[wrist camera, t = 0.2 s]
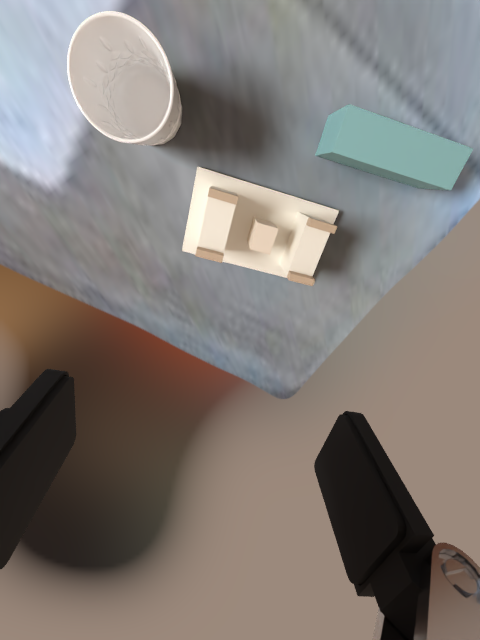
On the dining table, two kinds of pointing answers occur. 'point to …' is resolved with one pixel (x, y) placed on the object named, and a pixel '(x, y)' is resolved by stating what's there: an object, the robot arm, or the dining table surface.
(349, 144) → the teal bar
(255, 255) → the stand
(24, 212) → the dining table surface
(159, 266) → the dining table surface
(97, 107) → the white cup
